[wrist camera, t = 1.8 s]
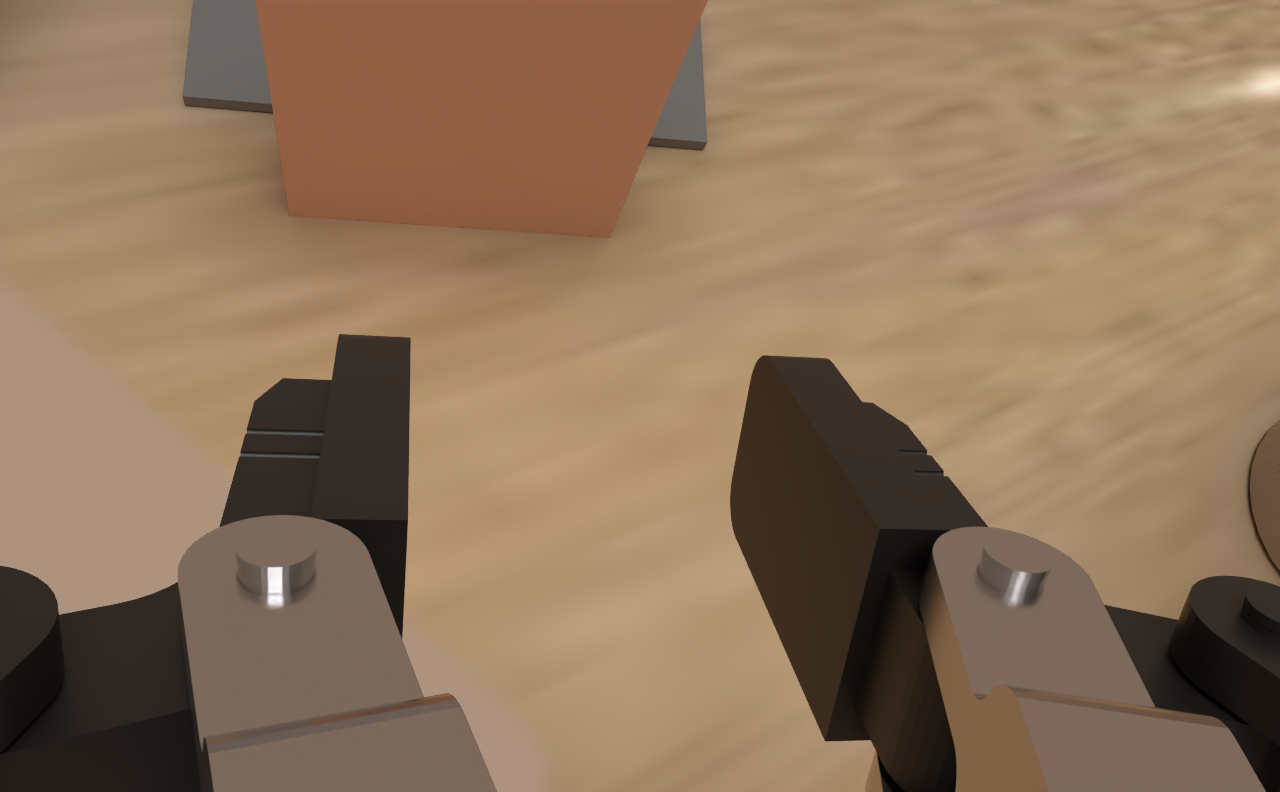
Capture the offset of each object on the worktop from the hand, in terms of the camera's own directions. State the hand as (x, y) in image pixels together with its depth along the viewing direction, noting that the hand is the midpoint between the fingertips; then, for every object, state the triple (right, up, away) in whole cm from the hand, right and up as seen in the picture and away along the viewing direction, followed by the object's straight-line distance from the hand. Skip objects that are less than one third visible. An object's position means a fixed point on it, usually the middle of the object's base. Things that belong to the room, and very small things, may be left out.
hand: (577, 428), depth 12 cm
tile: (-6, +8, +32) cm, 33 cm away
